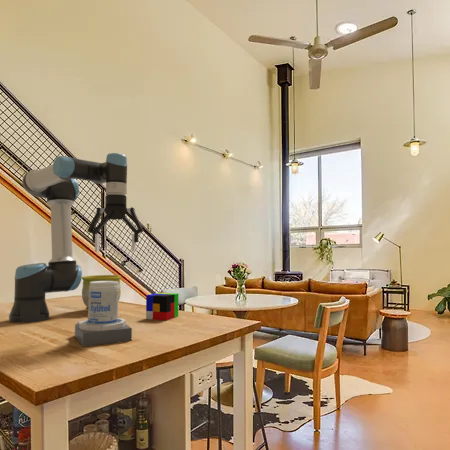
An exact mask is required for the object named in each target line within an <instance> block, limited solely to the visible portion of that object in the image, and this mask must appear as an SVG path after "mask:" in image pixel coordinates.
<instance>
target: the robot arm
mask: <svg viewBox="0 0 450 450" xmlns="http://www.w3.org/2000/svg"><path fill="white" fill-rule="evenodd" d="M127 179H128V158H127V156H126V155H125V154H123V153H119V152H112V153H110V152H109V153H107V154H106V158H105V161H104V162H97V161H91V160H86V159H79V158H74V157H70V156H61V155H58V156H56V157H55V158H54V160H53V163H52V164H50V165H48V166H45V167H44V168H41V169H31V170H29V171H28V172H26V173H25V174H24V175H23V178H22V187H23V188H24V190H25V191H26V192H27V193H28V194H29V195H32V196H34V197H36V198H43V199H46V204H47V205H48V206H49V207H50V231H51V232H50V233H51V259H50V260H49V261H48V262H47V263H48V265H47V263H45V262H37V263H29V264H23V265H20V266H18V267H16V269H15V275H14V299H13V300H14V301H13V304H12V307H11V310H10V313H9V314H8V322H10V323H13V324H21V323H22V324H23V323H36V322H37V323H38V322H41V321H45V320H46V321H47V320H49V319H50V311H49V310H50V309H49V307H48V305H47V302H46V294H47V293H48V294H49V293H61V292H62V293H63V292H71V291H74V290H75V291H76V289H78V287H80V284H81V282H82V277H83V270H82V268H81V266H80V265H79V264H77V260H76V259H75V258H74V257H73V233H72V208H71V207H72V206H73V205H74V204H75V201H77V199H78V197H79V194H80V187H79V182H78V181H77V180H82V181H88V182H92V183H93V184H105V207H103V208H101V207H96V211H95V215H94V216H93V219H92V220H91V222H90V225H89V226H88V228H87V232H88V233H91V234H92V243H94V252H96V253H97V252H100V236H101V235H100V234H99V232H100V231H101V230H102V229H103V228H104V227H105V226H106V225H107V223H108V222H109V221H110V220H111V221H115V220H118V221H122V220H123V222H125V224H126V225H127V227H129V229H130V230H131V232H133V233H132V234H131V252H136V248H137V247H136V246H137V245H136V244H137V243H138V242H139V235H140V234H141V233H144V228H143V226H142V224H141V222H140V220H139V218H138V217H137V214H136V209H135V207H133V206H132V207H129V208H128V207H127V200H128V199H127V198H128V197H127V196H126V195H127V194H128V193H127V190H128V189H127V184H128V183H127V182H128V181H127ZM103 213H105V216H104V217H103V219H102V220H101V221H100V222H99V220H100V218H101V216H102V215H103ZM127 213H128V214H130V216H131V218H132V219H133V222H134V225H133V223H132V222H131V221H130V219H129V218H128V217H127V215H126V214H127ZM98 222H99V223H98ZM135 226H136V227H137V228H136V227H135Z"/></svg>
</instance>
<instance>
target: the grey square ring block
mask: <svg viewBox="0 0 450 450" xmlns="http://www.w3.org/2000/svg"><path fill="white" fill-rule="evenodd" d="M126 320H127V319H125V318H120V317H118V322H117V323H115V324H109V325H88V319H84V320H81V321H77V323H75V325H74V337H75V338H76V340H77V341H78V342H79V344H80V345H81V346H82V347H83V348H84V347H90V346H91V347H92V346H99V345H108V344H115V343H122V342H123V343H124V342H131V341H132V337H133V334H132V332H133V331H132V330H133V329H132V327H131V326H129V325H128V324H126V323H127V322H126Z"/></svg>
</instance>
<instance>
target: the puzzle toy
mask: <svg viewBox="0 0 450 450" xmlns="http://www.w3.org/2000/svg"><path fill="white" fill-rule="evenodd" d="M145 296H146V297H145V298H146V299H145V300H146V301H145V319H146V320H154V321H155V320H157V321H170V320H172V319H175V318H177V317H179V293H174V292H173V293H171V292H155V293H151V294H147V295H145Z"/></svg>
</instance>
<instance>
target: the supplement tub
mask: <svg viewBox="0 0 450 450" xmlns="http://www.w3.org/2000/svg"><path fill="white" fill-rule="evenodd" d="M118 293H119V286H118V282H117V281H93V282H90V286H89V301H88V311H87V320H88V325H109V324H115V323H117V322H118V318H119V313H118V312H119V301H118Z"/></svg>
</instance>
